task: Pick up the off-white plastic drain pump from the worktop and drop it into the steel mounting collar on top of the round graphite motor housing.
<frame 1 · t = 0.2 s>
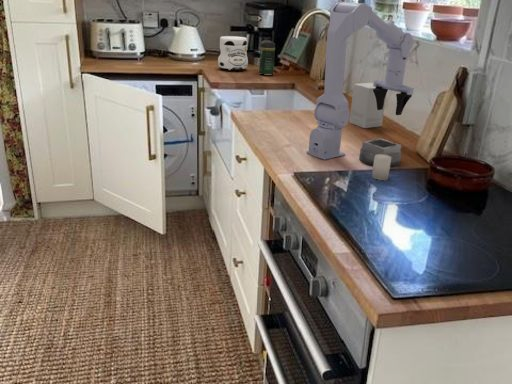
hand: (388, 112, 164), 10 cm above the worktop, fingers open, 7 cm apart
coffee jar: (266, 75, 276), on the worktop
motor: (379, 160, 148), on the worktop
pump: (379, 177, 136), on the worktop
supplement box: (365, 125, 187), on the worktop
milk container: (232, 70, 286), on the worktop
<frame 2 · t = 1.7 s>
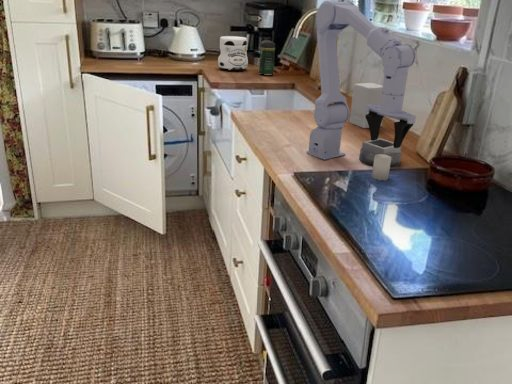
hand: (385, 143, 133), 9 cm above the worktop, fingers open, 7 cm apart
nothing on the worktop moved.
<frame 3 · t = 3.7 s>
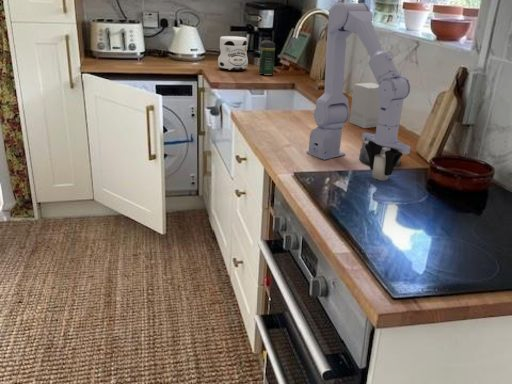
hand: (380, 171, 135), 2 cm above the worktop, fingers closed on pump, 4 cm apart
pump: (379, 177, 136), on the worktop, touching gripper
everything else where it was.
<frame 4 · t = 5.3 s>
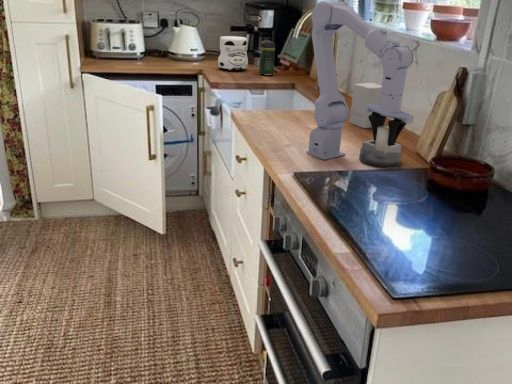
hand: (383, 142, 136), 9 cm above the worktop, fingers closed on pump, 4 cm apart
pump: (382, 148, 136), point 7 cm above the worktop, touching gripper
everything else where it was.
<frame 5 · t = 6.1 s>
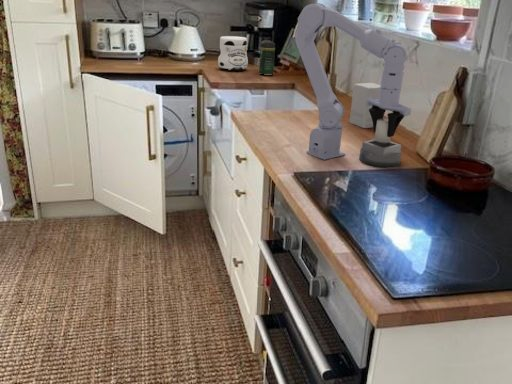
hand: (383, 134, 145), 8 cm above the worktop, fingers closed on pump, 4 cm apart
pump: (382, 140, 146), point 7 cm above the worktop, touching gripper
everything else where it was.
when the fingers open (6 cm above the worktop, at t = 6.9 s): pump drops 1 cm, resting on motor.
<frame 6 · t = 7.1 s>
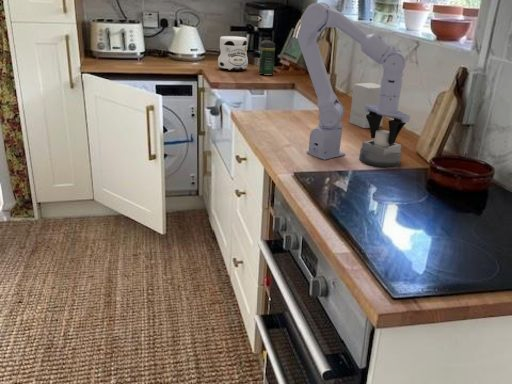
hand: (382, 140, 146), 6 cm above the worktop, fingers open, 6 cm apart
pump: (380, 151, 147), point 3 cm above the worktop, touching motor
everything else where it was.
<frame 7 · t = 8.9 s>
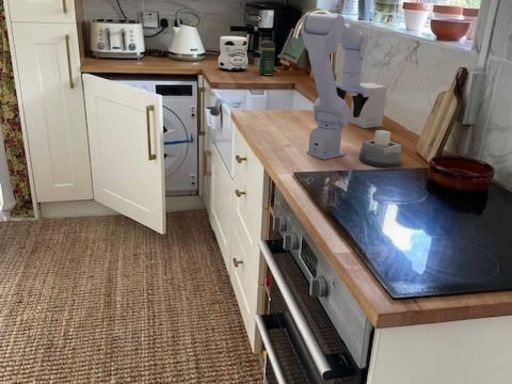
hand: (347, 114, 159), 10 cm above the worktop, fingers open, 7 cm apart
nothing on the worktop moved.
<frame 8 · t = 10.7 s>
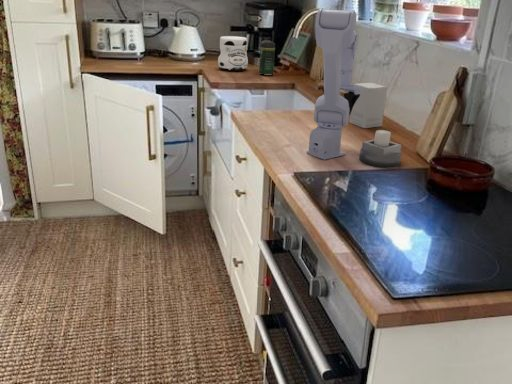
hand: (338, 112, 161), 10 cm above the worktop, fingers open, 7 cm apart
nothing on the worktop moved.
at the end: pump 0.3 cm off-centre on the motor, point 3.0 cm above the motor's base; pump tilted 0°; the gripper is holding nothing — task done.
